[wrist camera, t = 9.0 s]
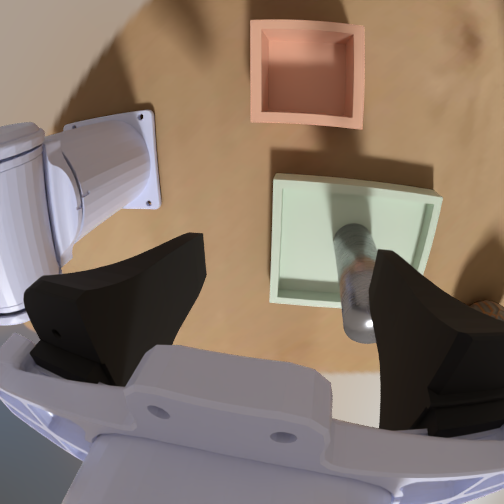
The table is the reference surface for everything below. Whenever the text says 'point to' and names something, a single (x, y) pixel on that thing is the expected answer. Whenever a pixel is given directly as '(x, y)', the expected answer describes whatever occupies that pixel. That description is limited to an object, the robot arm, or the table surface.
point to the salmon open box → (307, 72)
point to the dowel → (355, 279)
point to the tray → (331, 220)
